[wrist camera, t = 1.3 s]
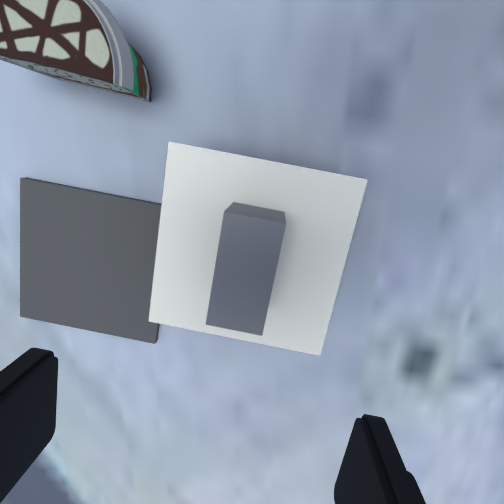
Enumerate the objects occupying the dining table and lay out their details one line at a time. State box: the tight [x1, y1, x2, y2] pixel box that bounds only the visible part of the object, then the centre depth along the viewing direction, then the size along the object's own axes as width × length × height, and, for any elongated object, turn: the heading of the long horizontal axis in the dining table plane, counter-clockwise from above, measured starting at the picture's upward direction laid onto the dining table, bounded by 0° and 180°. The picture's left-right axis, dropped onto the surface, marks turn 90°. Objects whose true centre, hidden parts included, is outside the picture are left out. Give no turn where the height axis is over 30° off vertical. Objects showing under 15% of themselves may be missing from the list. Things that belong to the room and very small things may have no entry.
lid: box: [149, 142, 368, 356], centre depth 26 cm, size 15×15×6 cm
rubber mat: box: [20, 178, 162, 344], centre depth 38 cm, size 16×16×1 cm
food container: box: [0, 0, 152, 102], centre depth 28 cm, size 12×6×10 cm, turn 77°
